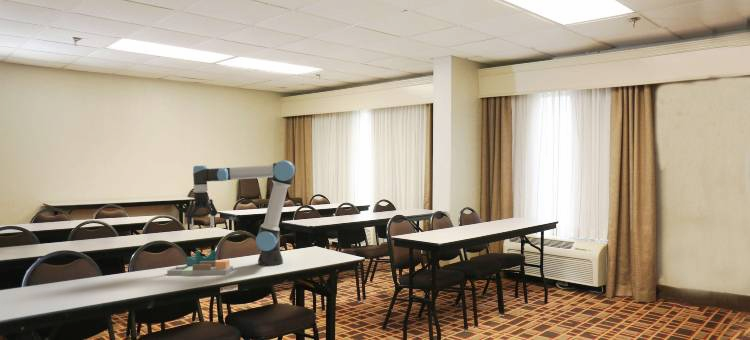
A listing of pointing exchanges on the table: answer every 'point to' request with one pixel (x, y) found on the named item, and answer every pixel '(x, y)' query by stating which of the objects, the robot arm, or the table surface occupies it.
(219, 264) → the block
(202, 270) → the deck
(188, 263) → the teal l-shaped bracket
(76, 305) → the table surface
